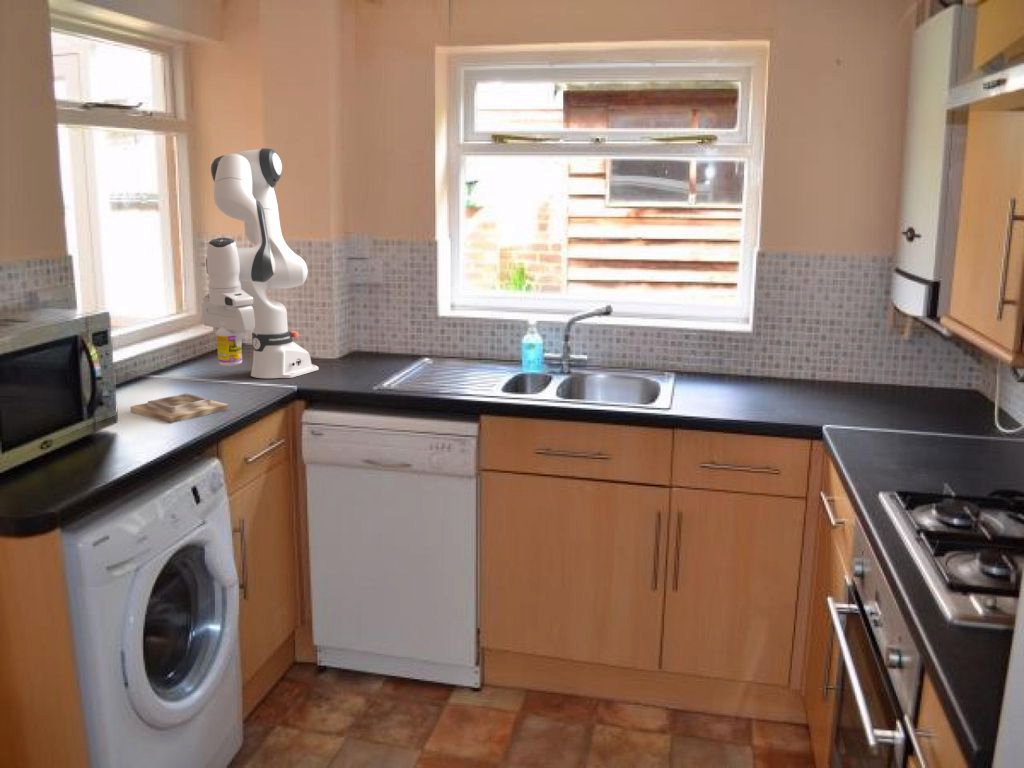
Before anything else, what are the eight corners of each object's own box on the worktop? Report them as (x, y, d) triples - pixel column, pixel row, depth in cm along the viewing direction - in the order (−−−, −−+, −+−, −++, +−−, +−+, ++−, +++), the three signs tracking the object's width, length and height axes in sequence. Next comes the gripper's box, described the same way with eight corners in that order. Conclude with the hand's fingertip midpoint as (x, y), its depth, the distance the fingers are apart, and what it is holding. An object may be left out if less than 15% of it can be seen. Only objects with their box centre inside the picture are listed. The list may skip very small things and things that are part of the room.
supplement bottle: (229, 367, 263) (225, 323, 259) (213, 364, 266) (209, 320, 263) (247, 362, 268) (244, 319, 265) (231, 359, 272) (228, 316, 268)
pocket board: (187, 399, 271) (187, 389, 270) (229, 409, 259) (228, 399, 258) (130, 411, 257) (129, 401, 256) (171, 423, 245) (170, 412, 244)
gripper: (194, 294, 266) (198, 341, 269) (238, 301, 254) (241, 350, 257) (213, 291, 271) (217, 338, 274) (257, 298, 259) (260, 347, 262)
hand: (229, 344), depth 266 cm, fingers closed on supplement bottle, 7 cm apart
